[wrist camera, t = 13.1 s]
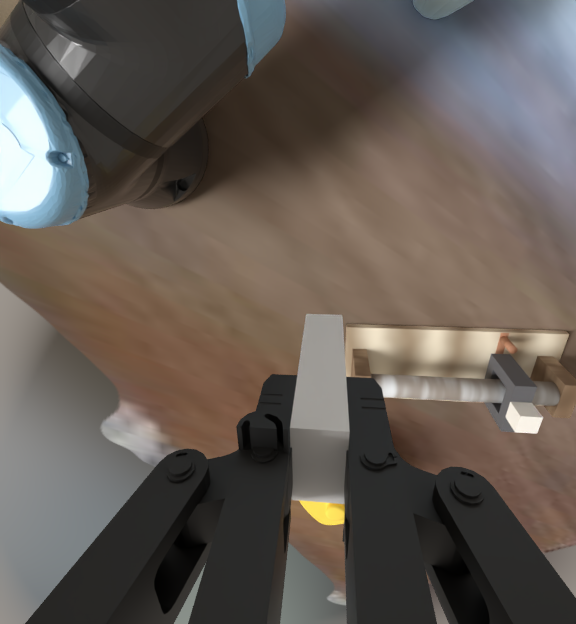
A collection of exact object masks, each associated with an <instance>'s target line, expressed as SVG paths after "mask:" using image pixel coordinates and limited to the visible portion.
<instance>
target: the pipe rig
mask: <svg viewBox="0 0 576 624" xmlns="http://www.w3.org/2000/svg"><path fill="white" fill-rule="evenodd" d="M568 337H569V334H568V333H567V332H566V331H559V330H527V329H495V328H463V327H431V326H399V325H367V324H347V325H346V342H345V366H346V377H360V378H374V379H375V380H376V382H377V383H378V384H379V385H380V387H381V388H382V392H383V397H386V398H405V399H424V400H443V401H462V402H481V403H484V402H487V403H502V401H503V398H504V395H505V391H506V387H505V386H504V384H503V383H502V381H501V380H499V379H484V378H485V375H486V371H487V367H488V363H489V360H490V356H491V354H510V355H511V356H512V357H513V358H514V360H515V361H516V362H517V363H518V364H519V366H520V367H521V368H522V369H523V370H524V372H525V373H526V374H527V375H528V376H529V378H530V379H531V380H532V381H533V382H534V384H535V385H536V386H537V389H536V392H535V395H534V398H533V401H532V404H533V405H538V406H543V405H544V407H545V408H546V409H547V410H548V412H549V413H550V414H551V415H552V417H559V418H570V417H571V414H572V412H573V410H574V407H575V405H576V378H575V377H574V376H573V375H572V374H571V373H570V372H568V371H567V370H566V369H565V368H564V367H563V366H562V365H561V364H560V363H559V361H560V358H561V356H562V353H563V350H564V347H565V345H566V342H567V339H568Z"/></svg>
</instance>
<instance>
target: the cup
mask: <svg viewBox="0 0 576 624" xmlns="http://www.w3.org/2000/svg"><path fill="white" fill-rule="evenodd" d="M472 1H474V0H412V2H413V5H414V7H415V9H416V10H417V11H418V12H419V13H420V14H421V15H422V16H423V17H426V18H430V19H440V18H443V17H446V16H448V15H450V14H452V13H454V12H455V11H457V10H459V9H460V8H462V7H464V6H465V5H467V4H469V3H470V2H472Z"/></svg>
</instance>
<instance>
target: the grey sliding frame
mask: <svg viewBox="0 0 576 624" xmlns="http://www.w3.org/2000/svg"><path fill="white" fill-rule="evenodd" d="M484 379H499V380H501V381H502V383H503V384H504V386H505V387H506V391H505V395H504V398H503V401H502V403H487V402H484V403H485V405H486V406H487V408H488V410H489V412H490V413H491V415H492V417H493V418H494V420H495V422H496V424H497V425H498V427H499V429H500V431H505V432H520V433H536V434H537V432H538V430H539V427H540V424H541V422H542V419H543V417H542V415H541V414H540V413H539V411H538V410H537V409H536V408H535V406H534V405H533V404H532V401H533V398H534V395H535V392H536V389H537V386H536V385H535V384H534V382H533V381H532V380H531V379H530V378H529V376H528V375H527V374H526V373H525V372H524V370H523V369H522V368H521V367H520V366H519V364H518V363H517V362H516V361H515V360H514V358H513V357H512V356H511V355H510V354H491V356H490V360H489V363H488V367H487V371H486V375H485V378H484Z"/></svg>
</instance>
